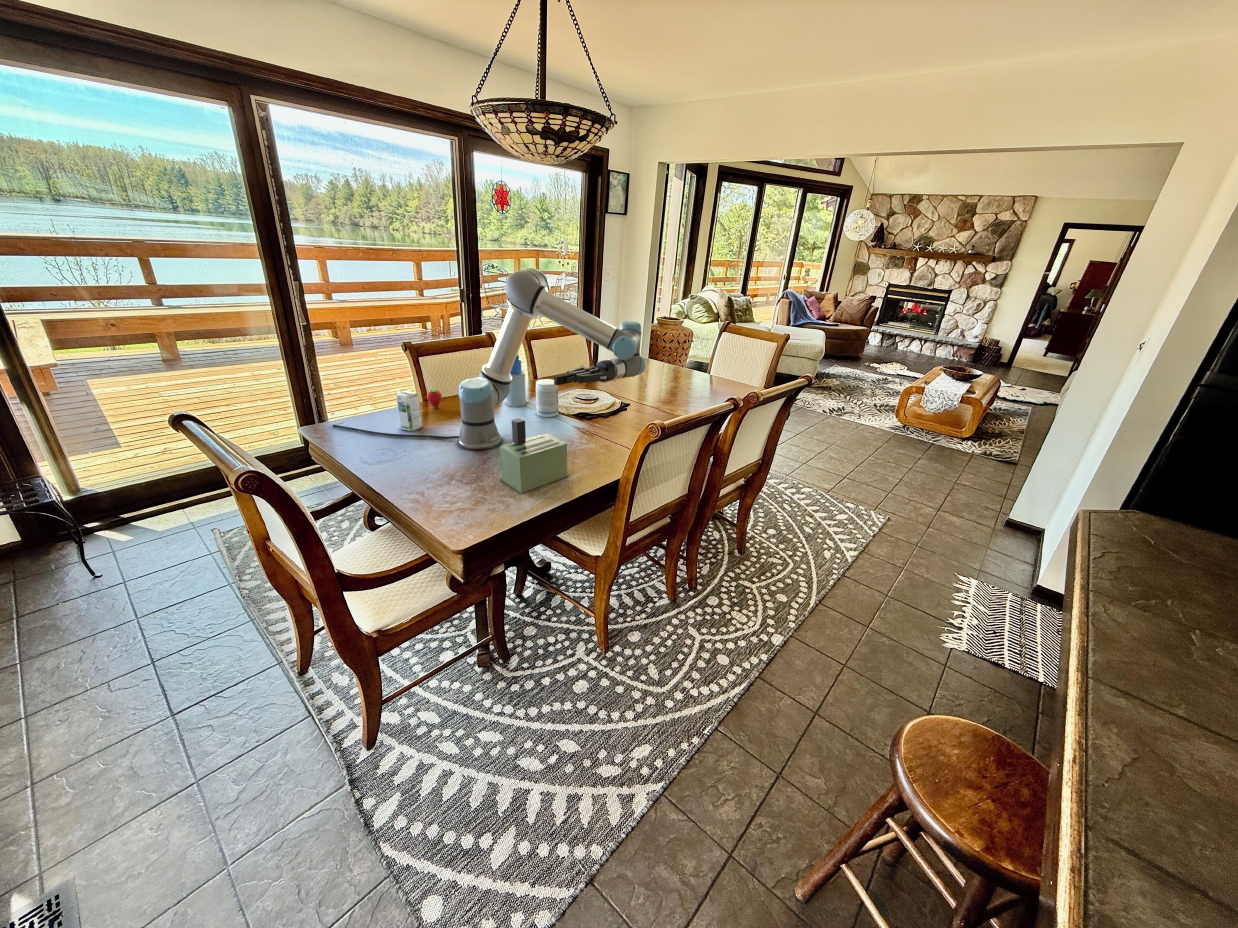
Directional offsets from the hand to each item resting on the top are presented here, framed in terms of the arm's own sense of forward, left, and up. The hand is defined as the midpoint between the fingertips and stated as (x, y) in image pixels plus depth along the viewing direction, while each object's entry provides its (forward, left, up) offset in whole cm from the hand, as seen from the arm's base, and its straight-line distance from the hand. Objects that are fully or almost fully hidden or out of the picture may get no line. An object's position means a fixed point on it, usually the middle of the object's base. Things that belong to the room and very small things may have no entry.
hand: (555, 380), depth 153 cm
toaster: (-1, -12, -30) cm, 32 cm away
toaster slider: (-5, -13, -18) cm, 23 cm away
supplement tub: (-30, +43, -30) cm, 61 cm away
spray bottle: (-50, +48, -30) cm, 76 cm away
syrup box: (-67, +1, -30) cm, 74 cm away
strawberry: (-76, +24, -30) cm, 85 cm away
